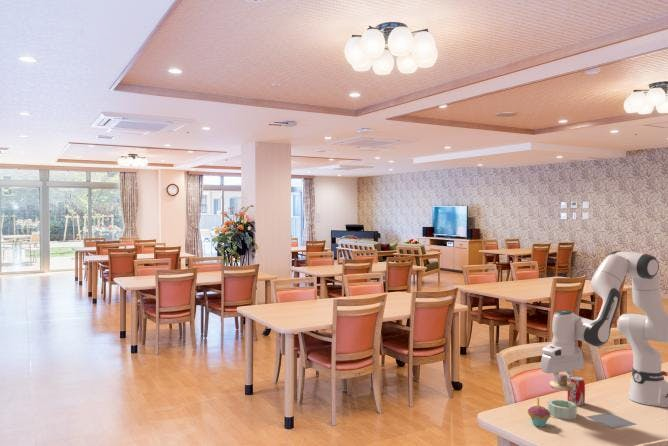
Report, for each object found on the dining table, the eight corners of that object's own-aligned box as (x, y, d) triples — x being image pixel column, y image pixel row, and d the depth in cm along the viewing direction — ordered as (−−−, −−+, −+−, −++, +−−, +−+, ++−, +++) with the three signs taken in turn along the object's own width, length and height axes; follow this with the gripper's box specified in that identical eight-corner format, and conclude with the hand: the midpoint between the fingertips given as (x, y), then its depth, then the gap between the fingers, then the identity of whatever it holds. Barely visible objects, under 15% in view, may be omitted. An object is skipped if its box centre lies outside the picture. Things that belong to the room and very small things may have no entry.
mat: (609, 414, 222) (609, 412, 222) (636, 425, 210) (636, 424, 210) (585, 417, 217) (585, 416, 217) (612, 430, 205) (612, 428, 205)
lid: (562, 382, 226) (562, 371, 226) (581, 389, 217) (581, 377, 217) (544, 384, 222) (544, 373, 222) (562, 392, 213) (562, 380, 213)
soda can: (586, 408, 229) (587, 380, 229) (569, 406, 230) (569, 379, 230) (582, 402, 236) (582, 376, 236) (565, 401, 237) (566, 374, 237)
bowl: (562, 409, 227) (562, 397, 227) (582, 418, 217) (582, 406, 217) (542, 412, 223) (542, 400, 223) (561, 422, 213) (561, 409, 213)
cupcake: (548, 430, 204) (548, 400, 204) (525, 425, 209) (525, 395, 209) (551, 423, 212) (552, 393, 212) (529, 418, 216) (530, 389, 216)
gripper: (576, 345, 226) (575, 376, 226) (538, 348, 219) (538, 381, 219) (587, 348, 220) (587, 381, 220) (549, 352, 213) (549, 386, 213)
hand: (562, 381), depth 219 cm, fingers closed on lid, 4 cm apart
